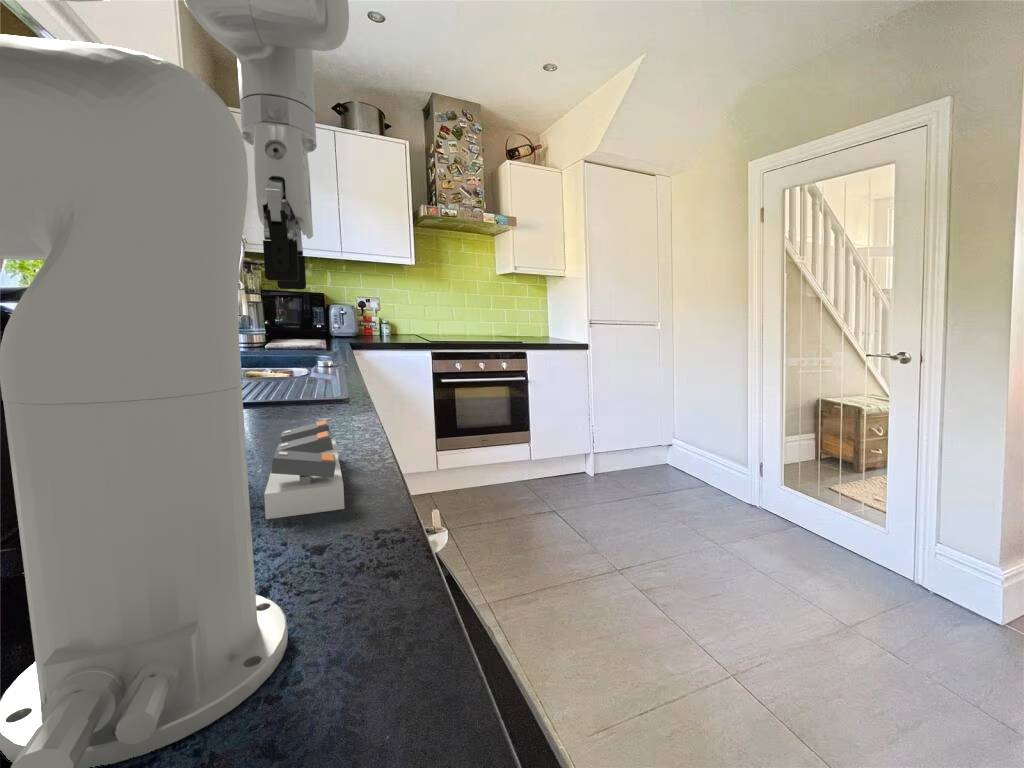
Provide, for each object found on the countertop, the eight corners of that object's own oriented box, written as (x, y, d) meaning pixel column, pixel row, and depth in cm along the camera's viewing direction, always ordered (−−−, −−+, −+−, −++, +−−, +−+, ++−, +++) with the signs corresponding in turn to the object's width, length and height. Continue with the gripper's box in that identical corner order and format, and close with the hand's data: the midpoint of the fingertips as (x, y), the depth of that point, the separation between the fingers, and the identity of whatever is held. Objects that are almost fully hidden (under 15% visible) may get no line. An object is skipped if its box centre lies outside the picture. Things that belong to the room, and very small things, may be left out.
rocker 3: (333, 477, 51) (336, 461, 51) (270, 473, 49) (273, 456, 49) (332, 468, 55) (334, 453, 55) (273, 464, 52) (276, 448, 52)
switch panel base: (344, 508, 51) (343, 476, 51) (265, 519, 48) (263, 485, 48) (335, 457, 71) (334, 434, 71) (280, 463, 68) (278, 438, 68)
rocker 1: (331, 436, 66) (327, 423, 66) (283, 448, 64) (280, 435, 64) (330, 430, 69) (327, 419, 69) (285, 442, 67) (282, 430, 67)
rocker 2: (333, 449, 59) (329, 435, 58) (279, 463, 57) (276, 449, 56) (332, 442, 62) (328, 429, 62) (281, 456, 60) (278, 443, 60)
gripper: (310, 97, 47) (318, 277, 49) (319, 158, 63) (325, 292, 65) (222, 85, 45) (234, 275, 46) (255, 152, 61) (263, 290, 63)
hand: (287, 285), depth 56 cm, fingers open, 9 cm apart
